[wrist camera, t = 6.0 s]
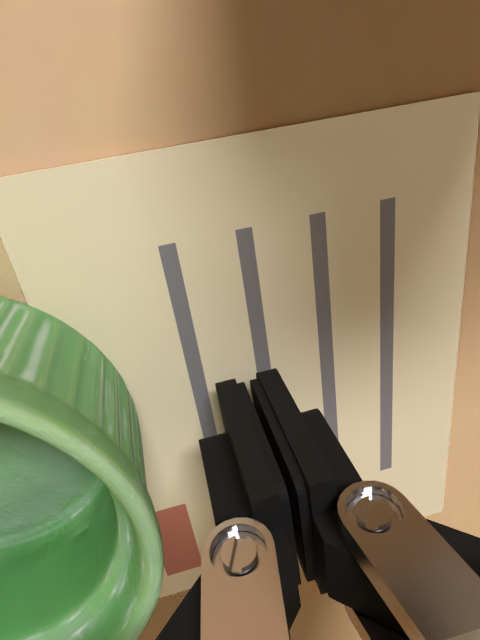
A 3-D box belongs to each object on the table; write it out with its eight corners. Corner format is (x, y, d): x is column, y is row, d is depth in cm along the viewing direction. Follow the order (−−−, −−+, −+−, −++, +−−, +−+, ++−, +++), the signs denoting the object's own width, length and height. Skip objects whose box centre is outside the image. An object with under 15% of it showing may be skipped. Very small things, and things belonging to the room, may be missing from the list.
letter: (478, 91, 10) (482, 91, 10) (441, 509, 17) (442, 511, 17) (-21, 180, 9) (-22, 181, 9) (147, 599, 15) (147, 602, 15)
